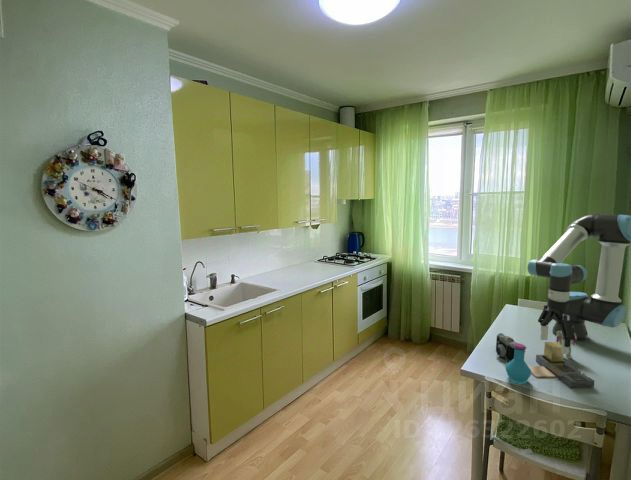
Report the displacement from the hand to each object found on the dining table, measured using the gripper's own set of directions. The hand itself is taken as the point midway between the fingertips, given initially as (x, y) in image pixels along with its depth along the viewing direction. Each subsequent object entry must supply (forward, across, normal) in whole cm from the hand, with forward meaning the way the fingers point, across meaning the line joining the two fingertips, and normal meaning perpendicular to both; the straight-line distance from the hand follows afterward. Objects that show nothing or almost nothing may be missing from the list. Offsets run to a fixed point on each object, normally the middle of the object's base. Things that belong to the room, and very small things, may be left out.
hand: (553, 346), depth 152 cm
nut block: (+9, 0, 0) cm, 9 cm away
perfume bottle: (+10, +10, -21) cm, 25 cm away
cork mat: (+9, +5, -9) cm, 14 cm away
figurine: (+9, -9, +11) cm, 17 cm away
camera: (+10, -10, -16) cm, 21 cm away
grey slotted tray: (+9, +6, 0) cm, 11 cm away
